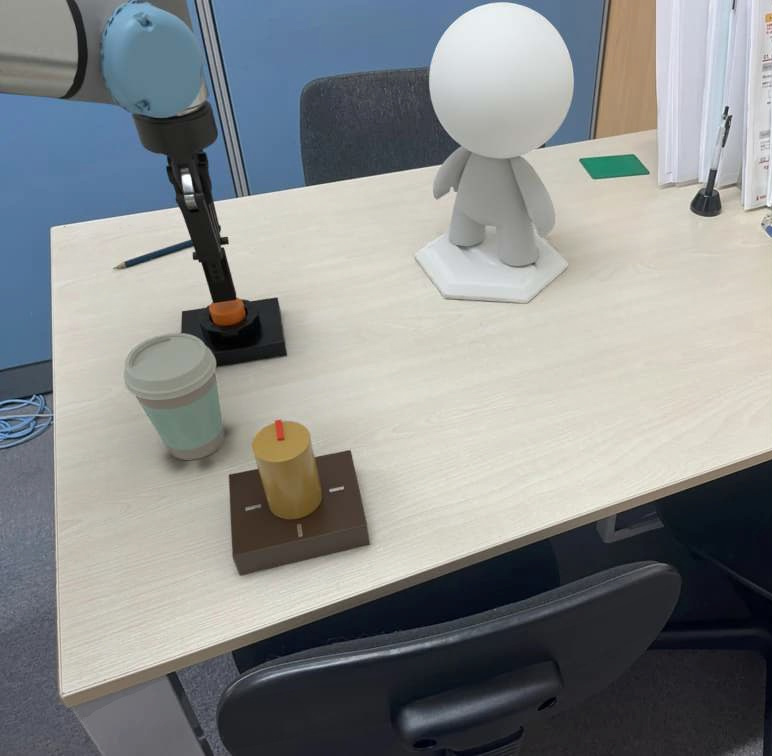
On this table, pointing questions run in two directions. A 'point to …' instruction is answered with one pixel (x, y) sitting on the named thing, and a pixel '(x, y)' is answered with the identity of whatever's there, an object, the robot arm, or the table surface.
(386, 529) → the table surface
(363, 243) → the table surface
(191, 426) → the coffee cup
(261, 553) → the plate
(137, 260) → the pencil
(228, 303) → the button
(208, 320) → the button box
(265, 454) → the lock knob
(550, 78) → the big headed doll
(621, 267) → the table surface
